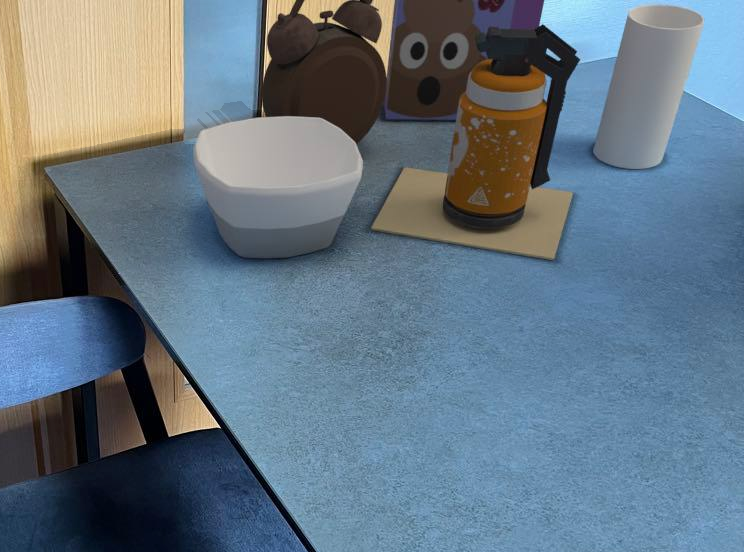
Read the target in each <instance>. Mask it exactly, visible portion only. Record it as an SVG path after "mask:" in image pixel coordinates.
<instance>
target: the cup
mask: <svg viewBox="0 0 744 552" xmlns="http://www.w3.org/2000/svg"><path fill="white" fill-rule="evenodd" d="M704 26H705V17H704V16H703V15H702V14H701V13H699V12H697V11H696V10H693V9H690V8H688V7H684V6H678V5H672V4H661V3H660V4H656V3H655V4H645V5H639V6H635V7H633V8H631V9H630V10H629V11H628V14H627V16H626V19H625V24H624V28H623V32H622V36H621V40H620V43H619V47H618V51H617V54H616V55H617V56H616V60H615V63H614V67H613V71H612V75H611V78H610V83H609V87H608V89H607V95H606V99H605V102H604V106H603V110H602V113H601V117H600V122H599V126H598V130H597V133H596V138H595V141H594V145H593V149H592V152H593V155H594V157H596V158H597V160H599V161H601V162H603V163H605V164H607V165H609V166H613V167H615V168H621V169H628V170H644V169H650V168H653V167H656V166H659V164H660V163H662V161H663V159H664V156H665V152H666V149H667V146H668V143H669V139H670V136H671V133H672V130H673V126H674V123H675V120H676V116H677V113H678V111H679V106H680V103H681V100H682V97H683V95H684V90H685V87H686V83H687V80H688V77H689V74H690V71H691V68H692V63H693V61H694V58H695V55H696V51H697V47H698V44H699V42H700V38H701V34H702V31H703V28H704Z"/></svg>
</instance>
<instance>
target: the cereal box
mask: <svg viewBox="0 0 744 552" xmlns="http://www.w3.org/2000/svg"><path fill="white" fill-rule="evenodd" d="M544 4H545V0H394V2H393V12H392V22H391V31H390V41H389V49H388V50H389V51H388V59H387V69H386V81H387V84H386V94H385V99H384V103H383V111H384V118H385V122H456V118H457V111H458V105H459V98H460V96H461V95H462V94H463V93H464V92H465V91H466V88H467V83H468V77H469V74H470V72H471V71H472V69H473V68H474V66H475V65H476V64H478V63H480V62H482V61H484V60H487V59H488V58H487V54H486V51H485V52H480V51H479V50H478V49H477V45H476V40H475V36H476V35H478V34H479V33H482V32H483V33H485V34H486V37H487V31H488V28H489V27H499V29H536V28H537V27H539V26H541V19H542V14H543V8H544Z"/></svg>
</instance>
